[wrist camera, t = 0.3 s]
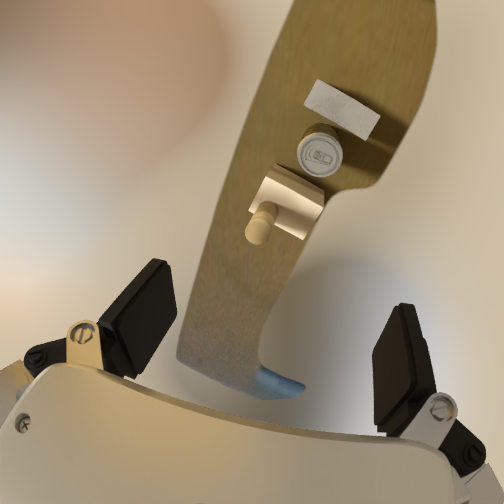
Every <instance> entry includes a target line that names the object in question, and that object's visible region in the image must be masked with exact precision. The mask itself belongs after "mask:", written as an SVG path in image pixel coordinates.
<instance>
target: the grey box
mask: <svg viewBox="0 0 504 504" xmlns="http://www.w3.org/2000/svg"><path fill="white" fill-rule="evenodd" d="M304 106H306V107H308V108H310V109H312V110H313V111H315V112H317V113H319V114H321V115H323V116H324V117H326V118H328V119H330V120H332V121H333V122H335V123H337V124H339V125H340V126H342V127H344V128H345V129H347V130H349V131H350V132H352V133H354V134H355V135H357V136H358V137H360V138H362V139H363V140H365V141H366V139H367V138H368V136H369V135H370V133H371V131H372V130H373V128H374V126H375V125H376V123H377V121H378V120H379V118H380V115H378V114H377V113H375V112H374V111H372V110H371V109H369V108H367V107H366V106H364V105H363V104H361V103H359V102H358V101H356V100H354V99H353V98H351V97H349V96H348V95H346V94H344V93H342V92H341V91H339V90H337V89H335V88H333V87H332V86H330V85H328V84H326V83H324V82H322V81H320V80H318V79H317V81H316V83H315V85H314V87H313V88H312V90H311V92H310V94H309V96H308V98H307V99H306V101H305V103H304Z"/></svg>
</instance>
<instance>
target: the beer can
mask: <svg viewBox="0 0 504 504" xmlns="http://www.w3.org/2000/svg"><path fill="white" fill-rule="evenodd" d="M297 157H298V161H299V163H300V165H301V167H302V168H303V169H304V170H305V171H306V172H307V173H309V174H310V175H312V176H316V177H326V176H329V175H331V174H333V173H334V172H335V171H336V170H338V168H339V167H340V165H341V163H342V159H343V152H342V147H341V144H340V141H339V137H338V135H337V133H336V131H335V130H334V129H333V128H332V127H331V126H329V125H327V124H323V123H317V124H314V125H311V126H310V127H309V128H308V129H307V130H306V132H305V133H304V135H303V137H302V139H301V141H300V143H299V145H298V150H297Z"/></svg>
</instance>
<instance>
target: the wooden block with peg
mask: <svg viewBox="0 0 504 504" xmlns="http://www.w3.org/2000/svg"><path fill="white" fill-rule="evenodd" d="M323 208H324V190H322V189H320V188H319V187H317V186H315V185H313V184H312V183H310V182H308V181H306V180H304V179H303V178H301V177H299V176H297V175H295V174H294V173H292V172H290V171H288V170H286V169H284V168H282V167H281V166H279V165H277V164H274V165H273V167H272V168H271V170H270V171H269V172H268V174H267V175H266V177H265V179H264V181H263V183H262V185H261V187H260V189H259V191H258V193H257V195H256V197H255V199H254V201H253V203H252V204H251V206H250V208H249V210H248V211H250V212H252V213H254V215H253V217H252V219H251V220H250V222H249V224H248V226H247V227H246V230H245V235H246V238H247V239H248V240H249V241H250V242H251V243H253V244H256V245H261V244H264V243H266V242H267V240H268V239H269V236H270V234H271V231H272V228H273V226H274V225H276V226H278V227H280V228H282V229H284V230H285V231H287V232H289V233H291V234H293V235H295V236H297V237H298V238H300V239H302V240H303V239H304V237H305V236H306V234H307V233H308V231H309V230H310V228H311V227H312V225H313V224H314V222H315V221H316V219H317V218H318V216H319V215H320V213H321V212H322V210H323Z"/></svg>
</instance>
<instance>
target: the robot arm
mask: <svg viewBox="0 0 504 504" xmlns="http://www.w3.org/2000/svg"><path fill="white" fill-rule="evenodd" d="M176 316H177V307H176V301H175V295H174V288H173V281H172V274H171V268H170V265H168V264H167V262H166V261H164V260H160V259H155V258H153V259H152V260H151V261H150V262H149V263H148V264H147V265H146V266H145V267H144V268H143V269H142V270H141V272H140V273H139V274H138V275H137V276H136V277H135V278H134V279H133V281H132V282H131V283H130V284H129V285H128V286H127V287H126V288H125V289H124V291H123V292H122V293H121V294H120V295H119V296H118V298H116V300H115V301H114V302H113V303H112V304H111V305H110V307H109V308H108V309H107V310H106V311H105V312H104V314H103V315H102V316H101V317H100V318H99V321H98V322H97V323H94V322H93V321H89V320H83V321H79V322H77V323H75V324H74V325H72V326H71V327H70V329H69V330H68V332H67V337H66V338H63V339H59V340H55V341H51V342H47V343H44V344H40V345H36V346H34V347H32V348H31V349H29V350H28V352H27V353H26V355H25V357H24V361H21V360H18V361H16V362H14V363H13V364H11V365H9V366H7V367H6V368H4V369H3V370H0V504H503V502H504V492H503V490H502V488H501V486H500V484H499V482H498V480H497V478H496V476H495V474H494V472H493V470H492V468H491V467H490V465H489V463H488V464H485V462H484V461H485V459H486V449H485V446H484V444H482V442H481V441H480V440H479V439H478V438H477V437H476V436H474V434H473V433H471V432H470V431H469V430H468V429H467V428H466V427H465V426H464V425H463V424H462V423H460V422H459V421H458V420H457V419H456V417H457V412H458V409H457V405H456V403H455V401H454V399H453V398H451V396H449V395H447V394H446V393H441V392H439V393H437V390H436V384H435V380H434V374H433V369H432V364H431V359H430V355H429V351H428V346H427V343H426V340H425V339H424V338H423V336H422V331H421V328H420V324H419V320H418V316H417V313H416V309H415V306H414V305H413V304H407V303H400V304H399V306H395V307H394V309H393V311H392V313H391V315H390V317H389V319H388V321H387V324H386V326H385V328H384V330H383V332H382V334H381V336H380V338H379V340H378V341H377V343H376V345H375V347H374V350H373V353H372V364H373V385H374V386H373V387H374V424H375V425H377V432H386V433H387V434H386V437H382V436H366V435H354V434H343V433H332V432H323V431H315V430H308V429H301V428H294V427H288V426H282V425H277V424H271V423H267V422H262V421H257V420H253V419H248V418H244V417H240V416H236V415H231V414H228V413H224V412H220V411H216V410H213V409H209V408H206V407H202V406H199V405H196V404H193V403H189V402H186V401H183V400H180V399H177V398H174V397H171V396H168V395H165V394H163V393H160V392H157V391H155V390H152V389H149V388H147V387H144V386H141V385H139V384H136V383H134V382H131V381H129V380H126V379H124V378H123V377H124V376H127V377H130V378H132V379H135V378H136V376H137V375H138V374H141V373H142V372H143V371H144V369H145V367H146V366H147V364H148V362H149V361H150V359H151V357H152V356H153V354H154V353H155V351H156V349H157V348H158V346H159V344H160V343H161V341H162V339H163V338H164V336H165V334H166V333H167V331H168V330H169V328H170V327H171V325H172V323H173V322H174V320H175V318H176Z"/></svg>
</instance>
